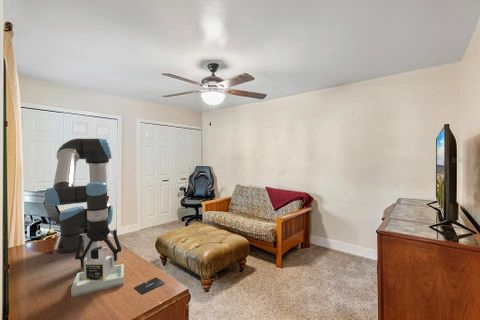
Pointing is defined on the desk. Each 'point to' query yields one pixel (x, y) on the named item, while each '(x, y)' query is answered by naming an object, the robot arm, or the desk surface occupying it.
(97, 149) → the robot arm
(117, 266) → the tray
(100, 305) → the desk surface
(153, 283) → the solid state drive
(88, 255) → the travel mug
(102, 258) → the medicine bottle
